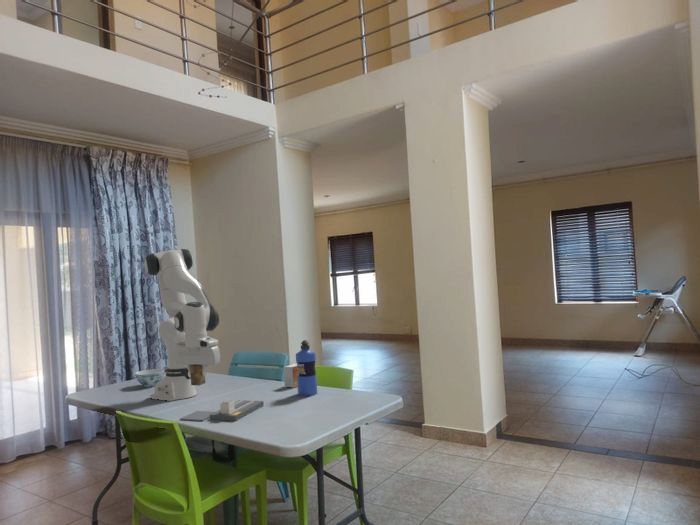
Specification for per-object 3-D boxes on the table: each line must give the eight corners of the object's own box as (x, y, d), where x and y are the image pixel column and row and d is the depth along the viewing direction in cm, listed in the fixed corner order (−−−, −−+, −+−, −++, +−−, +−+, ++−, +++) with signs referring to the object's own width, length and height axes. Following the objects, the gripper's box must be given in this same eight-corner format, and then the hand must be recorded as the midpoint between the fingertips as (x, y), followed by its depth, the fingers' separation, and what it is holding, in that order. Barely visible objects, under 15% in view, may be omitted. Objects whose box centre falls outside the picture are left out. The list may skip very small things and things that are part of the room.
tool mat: (179, 420, 198) (179, 418, 198) (197, 412, 209) (196, 410, 209) (202, 421, 195) (202, 419, 195) (219, 413, 205) (218, 411, 205)
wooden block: (191, 385, 201) (190, 365, 201) (197, 382, 205) (196, 363, 204) (199, 385, 199) (198, 365, 199) (205, 382, 203) (204, 363, 203)
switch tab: (220, 413, 197) (220, 402, 197) (226, 410, 201) (225, 399, 201) (229, 414, 196) (228, 402, 196) (234, 411, 199) (234, 400, 199)
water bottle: (308, 390, 237) (306, 338, 237) (321, 393, 230) (318, 339, 231) (293, 394, 230) (290, 341, 231) (306, 397, 224) (303, 342, 224)
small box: (293, 388, 243) (292, 367, 243) (284, 387, 246) (283, 366, 246) (303, 384, 250) (302, 364, 250) (294, 384, 253) (293, 363, 253)
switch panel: (209, 419, 196) (209, 412, 196) (239, 404, 217) (239, 398, 217) (235, 421, 192) (235, 413, 193) (263, 405, 213) (263, 399, 213)
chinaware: (170, 384, 269) (169, 370, 269) (143, 390, 258) (143, 375, 258) (156, 381, 279) (155, 367, 279) (130, 387, 267) (129, 373, 268)
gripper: (170, 342, 203) (172, 376, 202) (212, 342, 196) (214, 377, 196) (180, 340, 209) (182, 373, 208) (221, 340, 202) (223, 374, 202)
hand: (197, 375), depth 202 cm, fingers closed on wooden block, 4 cm apart
